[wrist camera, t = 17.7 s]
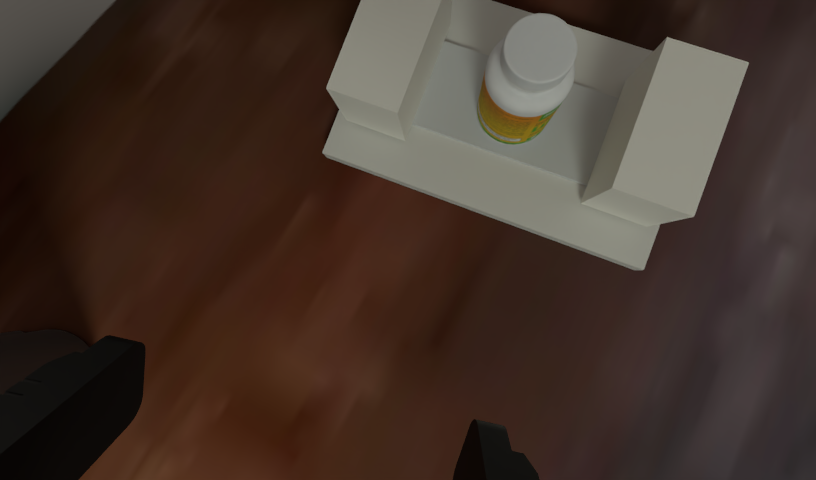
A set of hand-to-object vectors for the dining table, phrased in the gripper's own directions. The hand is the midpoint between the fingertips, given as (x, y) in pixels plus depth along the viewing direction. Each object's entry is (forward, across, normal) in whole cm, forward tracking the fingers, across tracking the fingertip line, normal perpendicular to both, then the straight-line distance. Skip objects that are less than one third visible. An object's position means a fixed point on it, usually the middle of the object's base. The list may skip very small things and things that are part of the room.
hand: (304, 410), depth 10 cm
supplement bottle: (+26, -8, -8) cm, 29 cm away
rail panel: (+28, -8, -8) cm, 30 cm away
